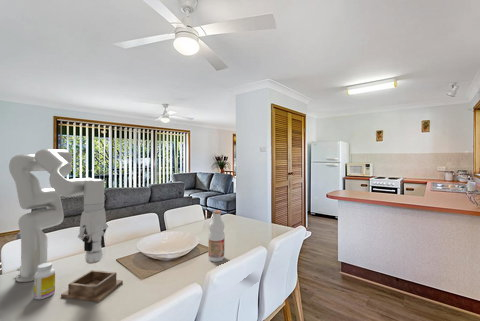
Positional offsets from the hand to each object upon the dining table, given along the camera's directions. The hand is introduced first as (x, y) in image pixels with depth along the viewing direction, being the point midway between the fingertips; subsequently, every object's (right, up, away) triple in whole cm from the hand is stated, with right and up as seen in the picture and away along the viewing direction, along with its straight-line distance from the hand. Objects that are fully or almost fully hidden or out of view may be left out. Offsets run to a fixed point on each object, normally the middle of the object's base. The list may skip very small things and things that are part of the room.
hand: (94, 247), depth 97 cm
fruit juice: (+51, -19, +32) cm, 63 cm away
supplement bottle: (-18, -19, -4) cm, 26 cm away
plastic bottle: (0, -7, 0) cm, 7 cm away
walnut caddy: (0, -19, 0) cm, 19 cm away
